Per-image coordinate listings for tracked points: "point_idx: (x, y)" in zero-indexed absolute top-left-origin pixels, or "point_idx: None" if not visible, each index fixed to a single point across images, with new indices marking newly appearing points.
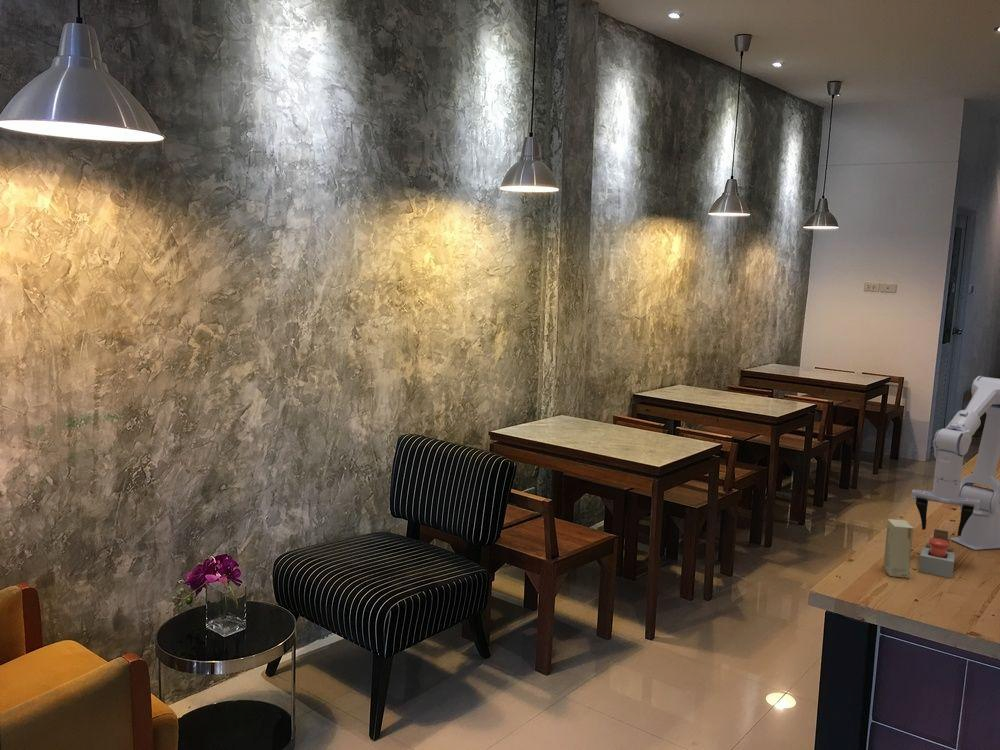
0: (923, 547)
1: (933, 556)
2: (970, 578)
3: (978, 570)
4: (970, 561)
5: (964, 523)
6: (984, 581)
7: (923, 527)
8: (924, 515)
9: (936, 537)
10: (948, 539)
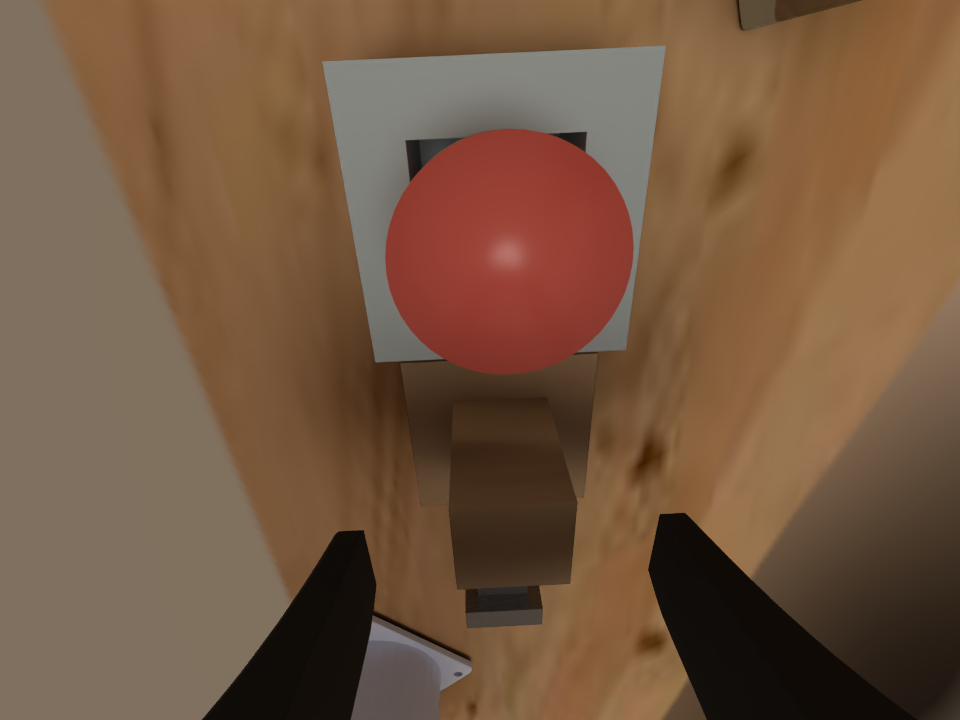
0: (619, 336)
1: (532, 119)
2: (257, 182)
3: (269, 376)
4: (344, 483)
5: (240, 685)
6: (164, 182)
7: (690, 528)
8: (792, 675)
9: (541, 468)
10: (472, 623)
